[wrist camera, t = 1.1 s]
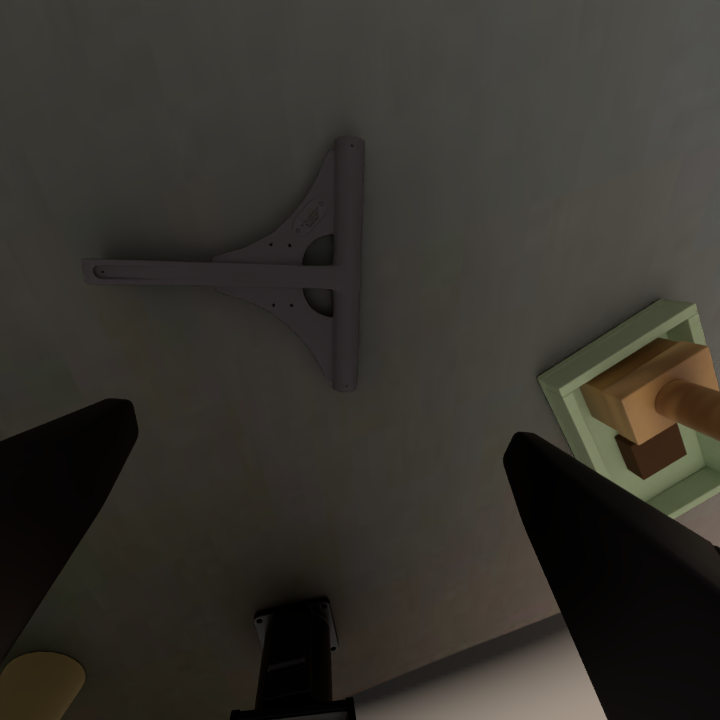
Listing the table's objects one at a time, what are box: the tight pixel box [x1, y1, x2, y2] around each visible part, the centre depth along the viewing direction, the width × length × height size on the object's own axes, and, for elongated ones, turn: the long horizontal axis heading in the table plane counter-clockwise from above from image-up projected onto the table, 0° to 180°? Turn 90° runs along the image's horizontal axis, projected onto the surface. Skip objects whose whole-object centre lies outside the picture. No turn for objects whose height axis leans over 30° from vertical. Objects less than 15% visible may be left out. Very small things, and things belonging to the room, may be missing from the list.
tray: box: [537, 299, 720, 519], centre depth 26 cm, size 18×11×2 cm, turn 33°
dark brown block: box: [614, 423, 687, 480], centre depth 26 cm, size 4×4×2 cm
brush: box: [579, 337, 720, 445], centre depth 18 cm, size 6×4×13 cm
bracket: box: [81, 136, 365, 392], centre depth 18 cm, size 14×15×3 cm
